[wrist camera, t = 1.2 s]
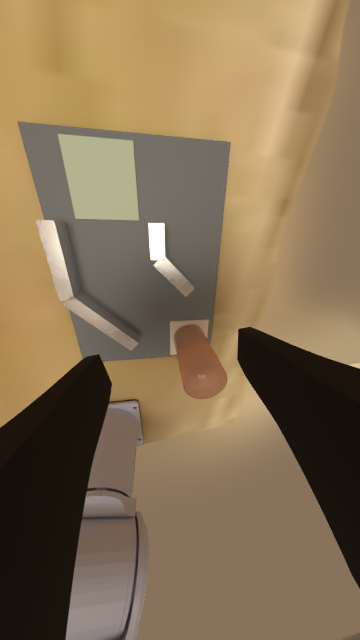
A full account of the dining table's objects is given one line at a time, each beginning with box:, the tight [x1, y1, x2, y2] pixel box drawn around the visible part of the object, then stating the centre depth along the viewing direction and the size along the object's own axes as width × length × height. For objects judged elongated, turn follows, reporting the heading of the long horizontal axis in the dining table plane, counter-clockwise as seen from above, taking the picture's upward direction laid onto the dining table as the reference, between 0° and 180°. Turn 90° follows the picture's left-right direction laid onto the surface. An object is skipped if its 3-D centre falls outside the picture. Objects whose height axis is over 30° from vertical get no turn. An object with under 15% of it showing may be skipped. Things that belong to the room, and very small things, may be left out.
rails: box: [36, 220, 195, 351], centre depth 16 cm, size 12×12×2 cm
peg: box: [174, 324, 227, 399], centre depth 17 cm, size 4×4×7 cm
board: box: [18, 122, 231, 361], centre depth 17 cm, size 20×15×1 cm
